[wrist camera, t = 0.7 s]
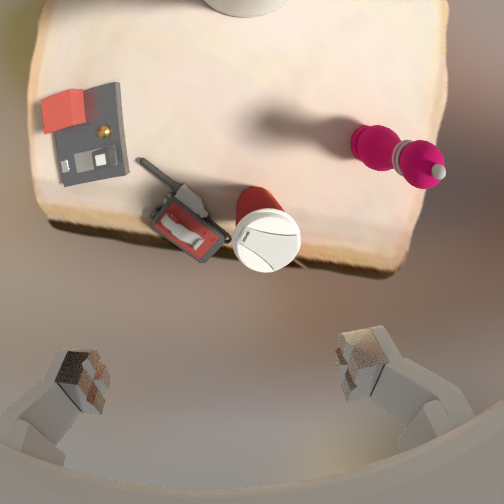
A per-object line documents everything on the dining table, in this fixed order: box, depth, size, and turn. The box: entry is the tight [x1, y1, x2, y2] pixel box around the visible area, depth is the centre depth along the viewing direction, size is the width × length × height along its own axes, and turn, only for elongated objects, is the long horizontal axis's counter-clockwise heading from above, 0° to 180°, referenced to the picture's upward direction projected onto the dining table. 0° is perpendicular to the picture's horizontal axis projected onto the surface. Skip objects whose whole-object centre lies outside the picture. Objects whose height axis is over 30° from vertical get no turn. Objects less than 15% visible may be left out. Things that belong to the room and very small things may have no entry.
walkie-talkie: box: [140, 158, 232, 263], centre depth 44 cm, size 9×4×20 cm
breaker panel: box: [55, 82, 130, 187], centre depth 37 cm, size 15×12×3 cm
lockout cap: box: [41, 89, 86, 134], centre depth 32 cm, size 6×6×4 cm
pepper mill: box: [351, 125, 446, 189], centre depth 34 cm, size 7×7×20 cm
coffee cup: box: [232, 187, 300, 272], centre depth 40 cm, size 8×8×15 cm
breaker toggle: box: [91, 146, 116, 170], centre depth 37 cm, size 3×3×3 cm
